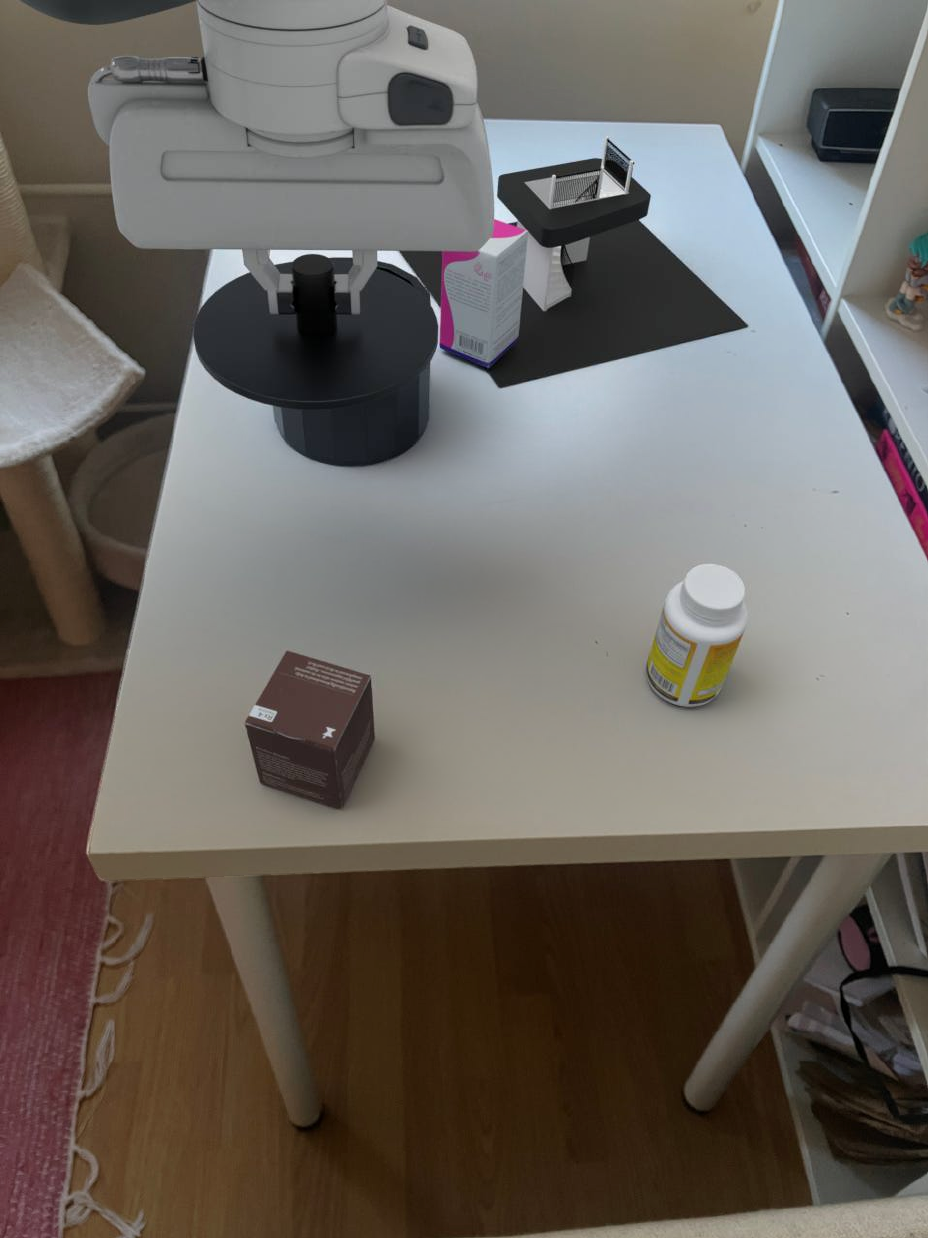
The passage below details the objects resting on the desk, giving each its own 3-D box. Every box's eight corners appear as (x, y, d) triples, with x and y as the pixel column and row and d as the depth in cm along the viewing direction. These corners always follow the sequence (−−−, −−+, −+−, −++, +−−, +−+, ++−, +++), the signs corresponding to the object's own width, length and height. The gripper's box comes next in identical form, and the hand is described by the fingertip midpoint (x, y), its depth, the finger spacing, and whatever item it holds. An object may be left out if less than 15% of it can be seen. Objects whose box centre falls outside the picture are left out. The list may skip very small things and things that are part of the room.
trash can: (271, 467, 85) (255, 352, 76) (280, 369, 94) (266, 256, 85) (431, 465, 86) (434, 352, 77) (425, 368, 95) (427, 257, 86)
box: (377, 739, 68) (374, 674, 63) (341, 813, 65) (335, 752, 59) (295, 712, 69) (285, 647, 64) (256, 784, 66) (241, 721, 60)
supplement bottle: (725, 660, 74) (763, 566, 66) (715, 719, 71) (753, 627, 63) (651, 640, 75) (679, 545, 67) (637, 698, 71) (665, 605, 64)
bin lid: (182, 419, 56) (165, 340, 52) (208, 275, 65) (195, 198, 61) (443, 418, 57) (447, 340, 53) (432, 276, 66) (434, 201, 62)
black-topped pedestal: (499, 388, 93) (510, 257, 83) (395, 246, 108) (393, 120, 98) (748, 326, 102) (786, 200, 91) (619, 202, 116) (640, 82, 106)
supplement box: (520, 339, 98) (531, 229, 89) (488, 369, 94) (496, 258, 85) (470, 319, 99) (476, 209, 91) (436, 348, 96) (439, 236, 87)
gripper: (65, 83, 46) (129, 340, 57) (508, 92, 48) (489, 340, 58) (89, 29, 50) (144, 278, 61) (497, 39, 52) (481, 280, 62)
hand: (316, 309), depth 59 cm, fingers closed on bin lid, 2 cm apart
